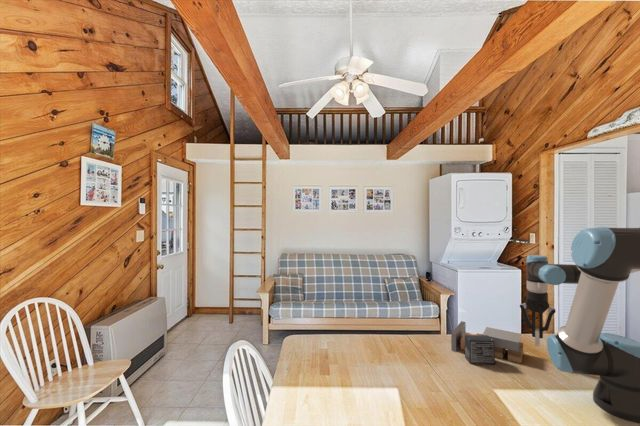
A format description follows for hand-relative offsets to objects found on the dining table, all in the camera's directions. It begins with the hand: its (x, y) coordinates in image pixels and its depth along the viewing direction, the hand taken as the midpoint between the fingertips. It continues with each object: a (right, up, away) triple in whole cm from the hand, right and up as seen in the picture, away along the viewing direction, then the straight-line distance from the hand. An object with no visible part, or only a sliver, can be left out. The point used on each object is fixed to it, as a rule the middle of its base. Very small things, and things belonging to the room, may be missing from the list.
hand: (537, 344), depth 132 cm
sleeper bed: (-12, -8, +9) cm, 17 cm away
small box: (-24, -8, +1) cm, 26 cm away
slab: (-11, -3, +8) cm, 14 cm away
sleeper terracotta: (-22, -8, +17) cm, 29 cm away
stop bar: (-25, -8, +19) cm, 33 cm away
